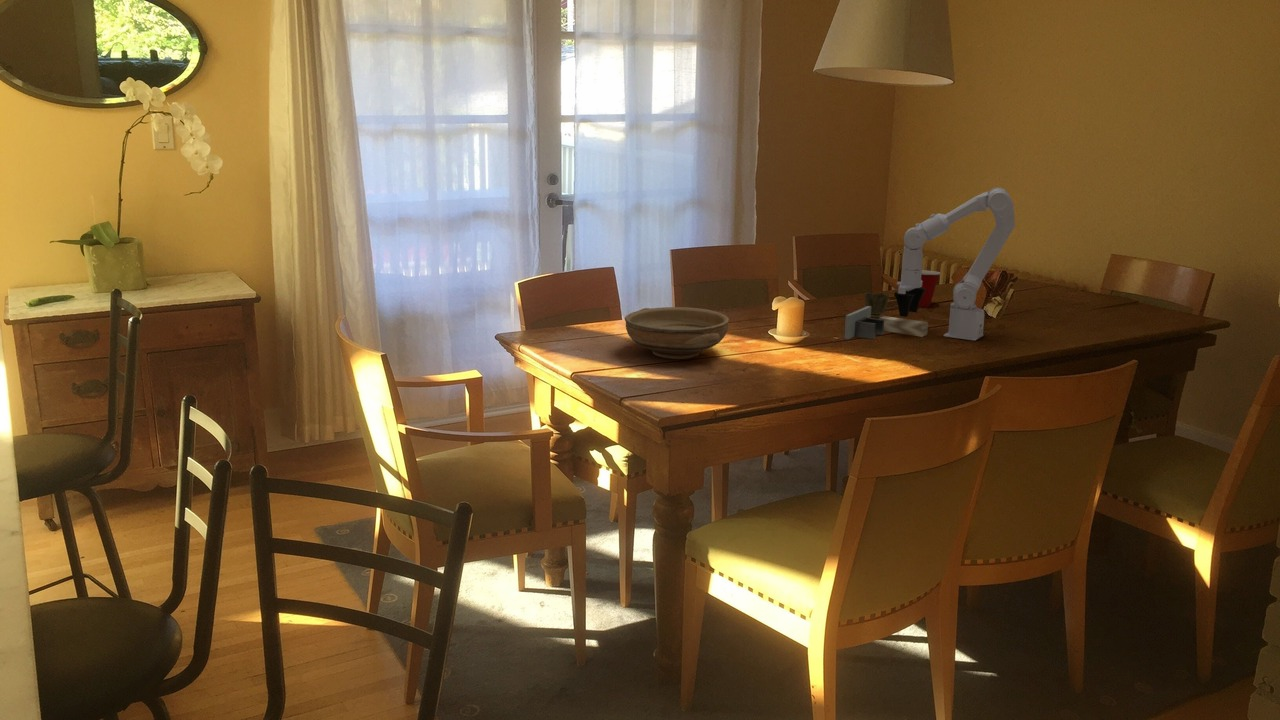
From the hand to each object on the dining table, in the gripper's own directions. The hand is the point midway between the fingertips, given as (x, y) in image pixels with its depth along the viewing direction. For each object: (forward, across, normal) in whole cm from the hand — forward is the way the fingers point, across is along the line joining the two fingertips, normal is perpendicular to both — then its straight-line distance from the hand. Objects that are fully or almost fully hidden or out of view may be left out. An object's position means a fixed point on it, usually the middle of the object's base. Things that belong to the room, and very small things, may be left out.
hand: (908, 314), depth 302 cm
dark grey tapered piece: (+6, -13, -15) cm, 21 cm away
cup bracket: (+6, +10, -7) cm, 14 cm away
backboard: (+6, +10, -12) cm, 16 cm away
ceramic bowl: (+6, +60, -43) cm, 74 cm away
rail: (+6, 0, -1) cm, 6 cm away
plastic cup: (+6, -41, -10) cm, 43 cm away
